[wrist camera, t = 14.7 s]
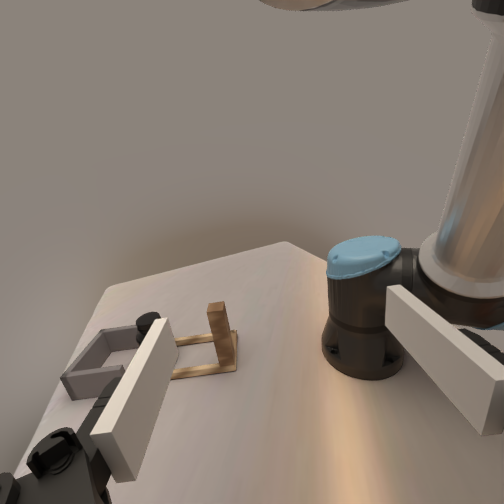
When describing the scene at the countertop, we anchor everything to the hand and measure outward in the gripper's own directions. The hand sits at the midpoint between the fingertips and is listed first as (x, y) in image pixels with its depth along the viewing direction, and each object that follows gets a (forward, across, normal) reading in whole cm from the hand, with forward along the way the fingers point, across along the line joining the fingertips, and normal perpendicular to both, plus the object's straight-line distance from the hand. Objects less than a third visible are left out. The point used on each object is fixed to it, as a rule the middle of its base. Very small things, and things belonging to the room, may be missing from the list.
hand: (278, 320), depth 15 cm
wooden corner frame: (+32, -19, -30) cm, 48 cm away
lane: (+32, -36, -30) cm, 56 cm away
